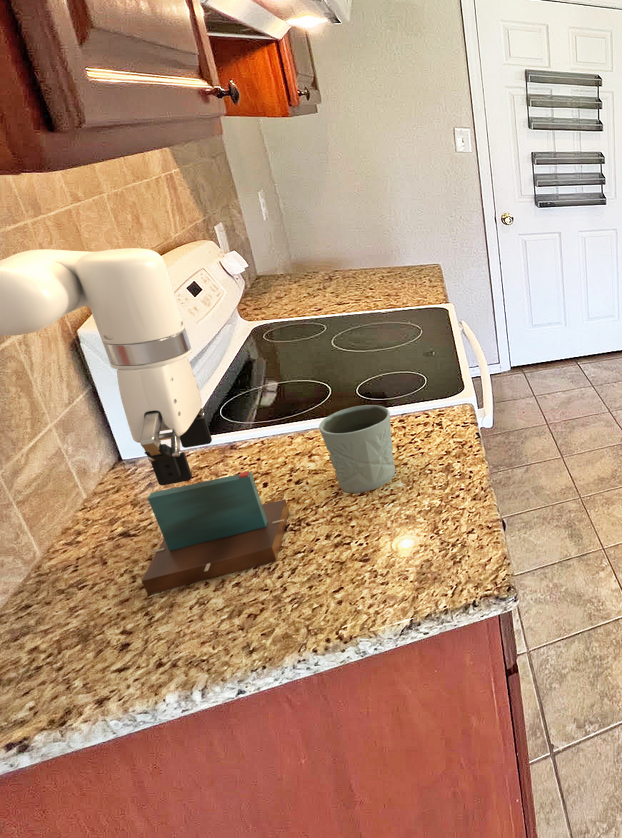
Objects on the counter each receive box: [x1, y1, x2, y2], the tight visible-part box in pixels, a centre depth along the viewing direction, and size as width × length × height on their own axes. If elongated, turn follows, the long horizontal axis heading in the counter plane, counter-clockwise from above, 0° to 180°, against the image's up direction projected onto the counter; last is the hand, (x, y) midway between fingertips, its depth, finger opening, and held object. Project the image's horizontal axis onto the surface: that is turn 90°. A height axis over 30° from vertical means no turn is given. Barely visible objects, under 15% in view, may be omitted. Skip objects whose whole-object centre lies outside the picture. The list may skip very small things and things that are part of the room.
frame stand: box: [141, 499, 290, 596], centre depth 83 cm, size 15×15×3 cm
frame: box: [147, 470, 267, 551], centre depth 81 cm, size 11×1×9 cm, turn 119°
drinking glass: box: [318, 404, 396, 494], centre depth 99 cm, size 10×10×12 cm
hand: (187, 462), depth 78 cm, fingers open, 9 cm apart
